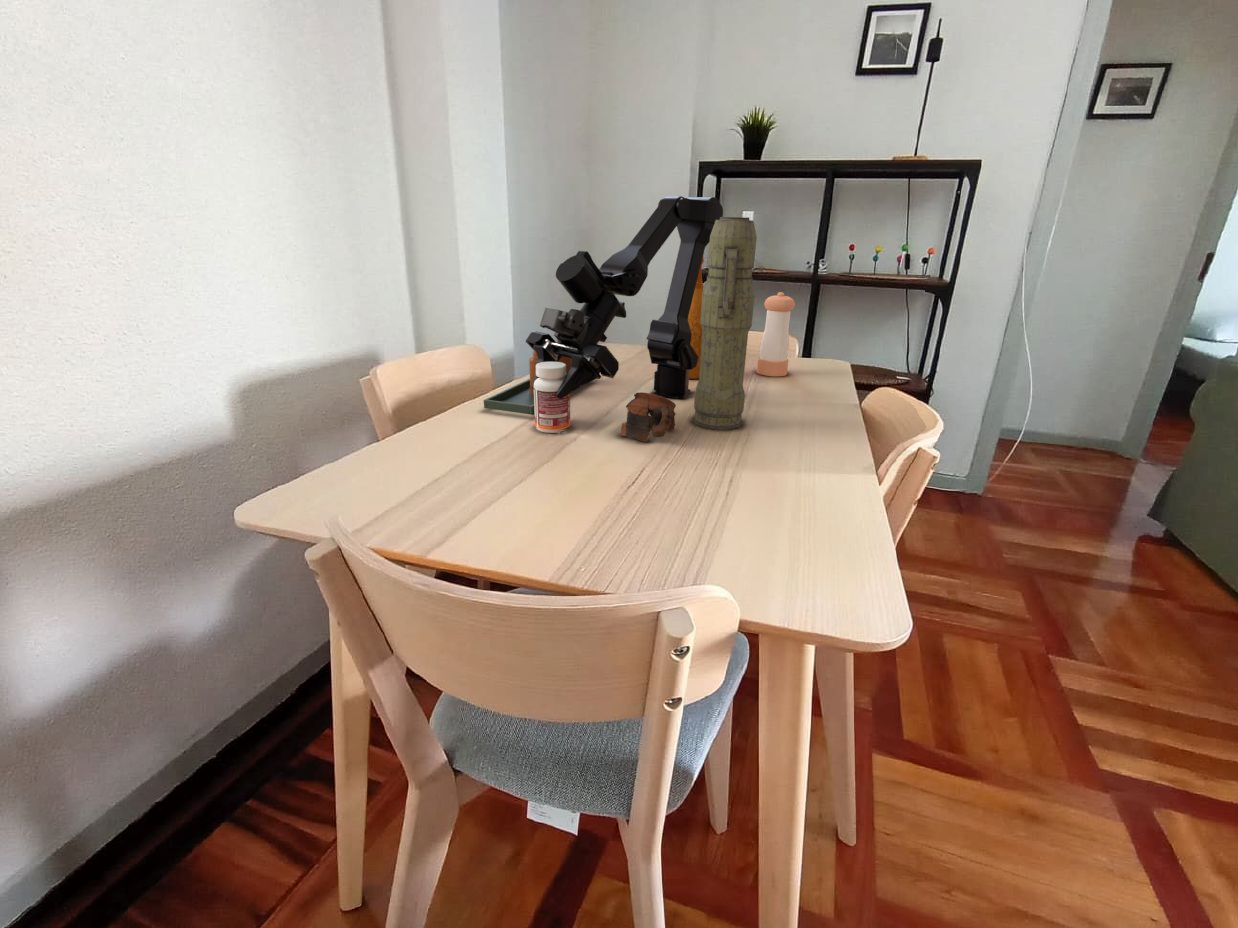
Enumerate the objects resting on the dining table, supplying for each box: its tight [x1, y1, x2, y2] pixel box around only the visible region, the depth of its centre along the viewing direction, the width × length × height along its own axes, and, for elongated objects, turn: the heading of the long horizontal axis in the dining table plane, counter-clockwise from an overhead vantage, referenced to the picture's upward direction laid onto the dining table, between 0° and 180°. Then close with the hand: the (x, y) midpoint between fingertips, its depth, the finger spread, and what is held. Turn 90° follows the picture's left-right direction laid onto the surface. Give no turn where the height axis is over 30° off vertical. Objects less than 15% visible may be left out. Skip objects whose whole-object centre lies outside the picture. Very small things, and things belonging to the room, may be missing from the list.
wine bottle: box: [688, 253, 705, 380], centre depth 140 cm, size 10×10×30 cm
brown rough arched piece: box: [620, 391, 677, 443], centre depth 104 cm, size 12×10×8 cm
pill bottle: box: [534, 362, 571, 434], centre depth 105 cm, size 6×6×11 cm
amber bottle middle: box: [528, 350, 538, 395], centre depth 123 cm, size 5×5×11 cm
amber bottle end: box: [556, 338, 572, 378], centre depth 132 cm, size 5×5×11 cm
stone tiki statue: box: [693, 216, 758, 431], centre depth 106 cm, size 9×12×35 cm
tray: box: [483, 378, 535, 416], centre depth 125 cm, size 10×28×2 cm, turn 159°
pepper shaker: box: [756, 291, 796, 377], centre depth 146 cm, size 7×7×19 cm
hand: (545, 393), depth 104 cm, fingers closed on pill bottle, 6 cm apart
